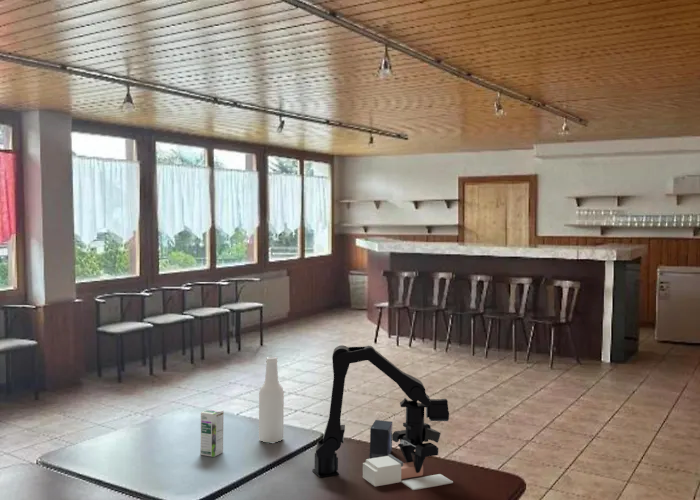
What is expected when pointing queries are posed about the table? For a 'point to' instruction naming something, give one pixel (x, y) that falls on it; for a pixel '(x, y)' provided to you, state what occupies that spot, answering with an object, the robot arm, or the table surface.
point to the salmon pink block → (410, 471)
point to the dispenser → (382, 470)
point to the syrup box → (211, 432)
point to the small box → (380, 439)
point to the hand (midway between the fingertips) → (414, 470)
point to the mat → (426, 481)
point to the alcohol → (271, 405)
